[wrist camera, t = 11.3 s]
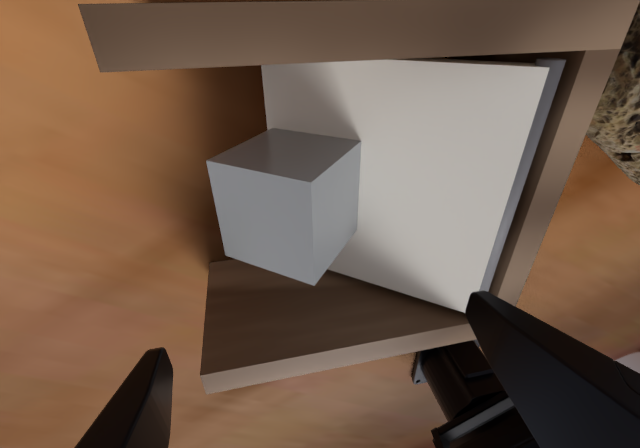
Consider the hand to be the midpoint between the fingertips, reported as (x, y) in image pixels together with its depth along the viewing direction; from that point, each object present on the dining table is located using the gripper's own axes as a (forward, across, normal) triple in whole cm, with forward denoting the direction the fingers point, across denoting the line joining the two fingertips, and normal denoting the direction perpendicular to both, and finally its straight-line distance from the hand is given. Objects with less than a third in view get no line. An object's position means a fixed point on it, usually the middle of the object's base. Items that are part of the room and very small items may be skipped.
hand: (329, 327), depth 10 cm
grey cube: (+10, -2, 0) cm, 10 cm away
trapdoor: (+9, -5, 0) cm, 10 cm away
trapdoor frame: (+13, -3, 0) cm, 13 cm away
